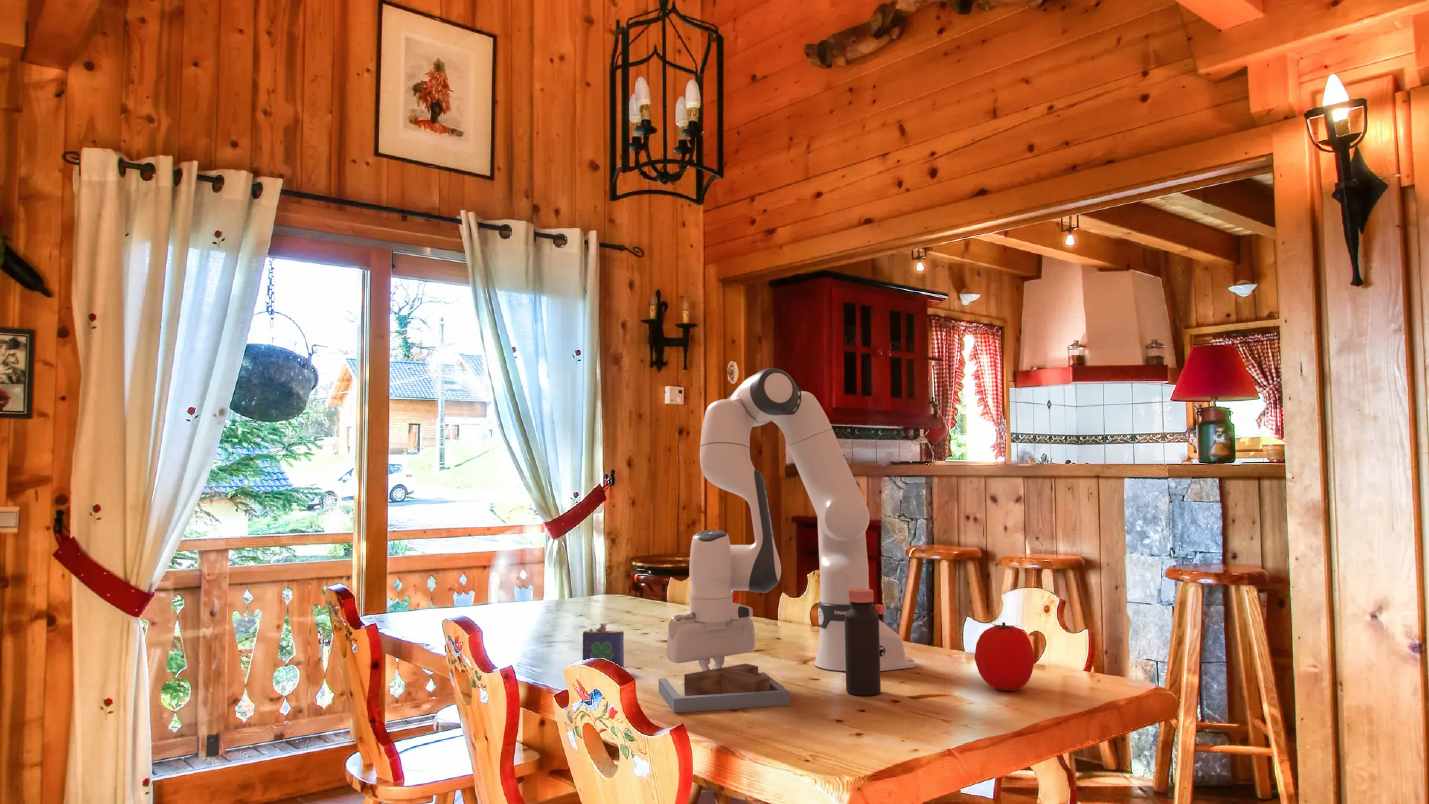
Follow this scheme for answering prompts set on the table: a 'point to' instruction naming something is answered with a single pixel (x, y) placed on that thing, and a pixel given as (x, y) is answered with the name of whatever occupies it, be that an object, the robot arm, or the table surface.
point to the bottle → (862, 645)
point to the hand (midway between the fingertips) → (711, 680)
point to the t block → (726, 681)
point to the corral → (724, 698)
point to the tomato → (1004, 657)
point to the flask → (604, 644)
